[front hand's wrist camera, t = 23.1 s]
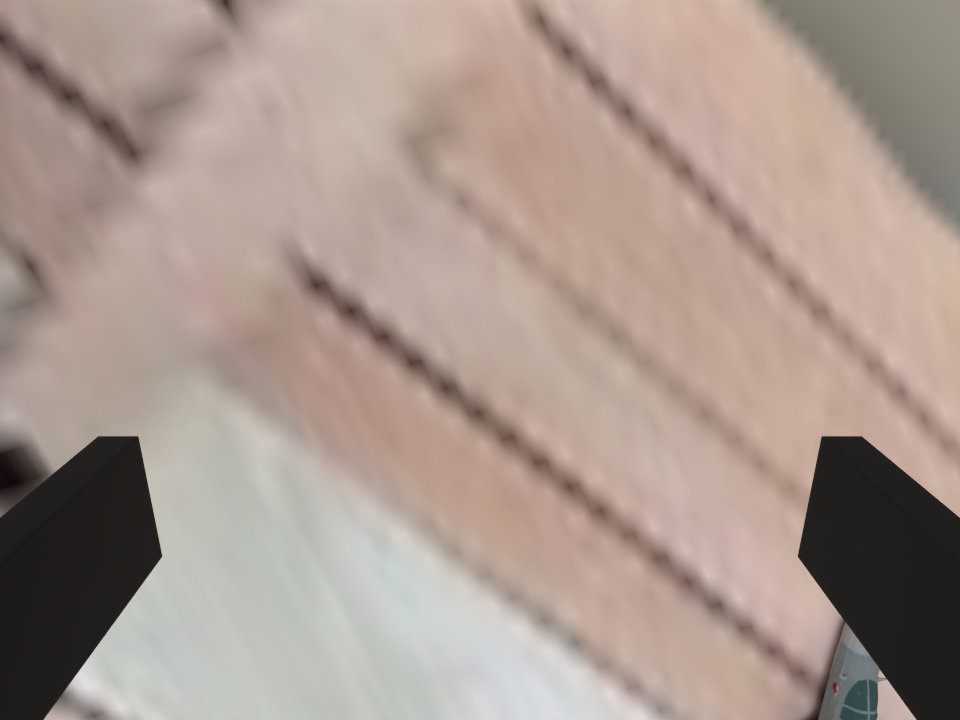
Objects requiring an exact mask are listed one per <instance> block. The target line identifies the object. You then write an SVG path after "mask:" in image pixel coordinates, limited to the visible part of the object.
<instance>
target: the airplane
mask: <svg viewBox="0 0 960 720" xmlns="http://www.w3.org/2000/svg"><path fill="white" fill-rule="evenodd" d="M878 673H879V667H878V666H877V665H876V663H875V662H874V660H873V659H872V658H871V656H870V655H869V654H868V652H867V651H866V649H865V648H864V647H863V645H862V644H861V643H860V641H859V640H858V638H857V637H856V636H855V634H854V633H853V632H852V630H851V629H850V627H849V626H848V625H847V623H846V622H845V624H844V627H843V630H842V634H841V637H840V640H839V643H838V646H837V649H836V653H835V656H834V659H833V663H832V667H831V671H830V675H829V679H828V683H827V687H826V691H825V695H824V699H823V703H822V707H821V710H820V714H819V718H818V720H876V719H877V704H878V688H877V682H878V681H883V680H886V679H887V678H878Z"/></svg>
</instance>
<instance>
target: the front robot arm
mask: <svg viewBox="0 0 960 720" xmlns="http://www.w3.org/2000/svg"><path fill="white" fill-rule="evenodd" d="M161 557H162V553H161V548H160V543H159V538H158V533H157V528H156V523H155V518H154V513H153V508H152V503H151V498H150V493H149V488H148V483H147V478H146V473H145V468H144V463H143V458H142V453H141V448H140V443H139V438H138V436H98V437H97V438H96V439H95V440H93V441H92V442H91V443H90V444H89V445H87V446H86V447H85V448H84V449H83V450H81V451H80V452H79V453H78V454H77V455H75V456H74V457H73V458H72V459H71V460H69V461H68V462H67V463H66V464H65V465H63V466H62V467H61V468H60V469H59V470H57V471H56V472H55V473H54V474H52V475H51V476H50V477H49V478H48V479H46V480H45V481H44V482H43V483H42V484H40V485H39V486H38V487H37V488H36V489H34V490H33V491H32V492H31V493H30V494H28V495H27V496H26V497H25V498H24V499H22V500H21V501H20V502H19V503H18V504H16V505H15V506H14V507H13V508H12V509H10V510H9V511H8V512H7V513H5V514H4V515H3V516H2V517H1V518H0V720H44V718H45V717H46V715H47V714H48V713H49V711H50V710H51V709H52V707H53V706H54V704H55V703H56V702H57V700H58V699H59V698H60V696H61V695H62V693H63V692H64V691H65V689H66V688H67V687H68V685H69V684H70V682H71V681H72V680H73V678H74V677H75V676H76V674H77V673H78V671H79V670H80V669H81V667H82V666H83V665H84V663H85V662H86V660H87V659H88V658H89V656H90V655H91V654H92V652H93V651H94V649H95V648H96V647H97V645H98V644H99V643H100V641H101V640H102V638H103V637H104V636H105V634H106V633H107V632H108V630H109V629H110V627H111V626H112V625H113V623H114V622H115V621H116V619H117V618H118V616H119V615H120V614H121V612H122V611H123V610H124V608H125V607H126V606H127V604H128V603H129V601H130V600H131V599H132V597H133V596H134V595H135V593H136V592H137V590H138V589H139V588H140V586H141V585H142V584H143V582H144V581H145V579H146V578H147V577H148V575H149V574H150V573H151V571H152V570H153V568H154V567H155V566H156V564H157V563H158V562H159V560H160V559H161ZM798 557H799V559H800V560H801V562H802V563H803V564H804V566H805V567H806V568H807V570H808V571H809V573H810V574H811V575H812V577H813V578H814V579H815V581H816V582H817V584H818V585H819V586H820V588H821V589H822V590H823V592H824V593H825V595H826V596H827V597H828V599H829V600H830V601H831V603H832V604H833V606H834V607H835V608H836V610H837V611H838V612H839V614H840V615H841V616H842V618H843V619H844V621H845V622H846V623H847V625H848V626H849V627H850V629H851V630H852V632H853V633H854V634H855V636H856V637H857V638H858V640H859V641H860V643H861V644H862V645H863V647H864V648H865V649H866V651H867V652H868V654H869V655H870V656H871V658H872V659H873V660H874V662H875V663H876V665H877V666H878V667H879V669H880V670H881V671H882V673H883V674H884V676H885V677H886V678H887V680H888V681H889V682H890V684H891V685H892V687H893V688H894V689H895V691H896V692H897V693H898V695H899V696H900V698H901V699H902V700H903V702H904V703H905V704H906V706H907V707H908V709H909V710H910V711H911V713H912V714H913V715H914V717H915V718H916V720H960V518H959V517H958V516H957V515H956V514H955V513H953V512H952V511H951V510H950V509H948V508H947V507H946V506H945V505H944V504H942V503H941V502H940V501H939V500H938V499H936V498H935V497H934V496H933V495H932V494H930V493H929V492H928V491H927V490H926V489H924V488H923V487H922V486H921V485H920V484H918V483H917V482H916V481H915V480H914V479H912V478H911V477H910V476H909V475H908V474H906V473H905V472H904V471H903V470H901V469H900V468H899V467H898V466H897V465H895V464H894V463H893V462H892V461H891V460H889V459H888V458H887V457H886V456H885V455H883V454H882V453H881V452H880V451H879V450H877V449H876V448H875V447H874V446H873V445H871V444H870V443H869V442H868V441H867V440H865V439H864V438H863V437H862V436H822V438H821V443H820V448H819V453H818V458H817V463H816V468H815V473H814V478H813V483H812V488H811V493H810V498H809V503H808V508H807V513H806V518H805V523H804V528H803V533H802V538H801V543H800V548H799V553H798Z"/></svg>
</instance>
